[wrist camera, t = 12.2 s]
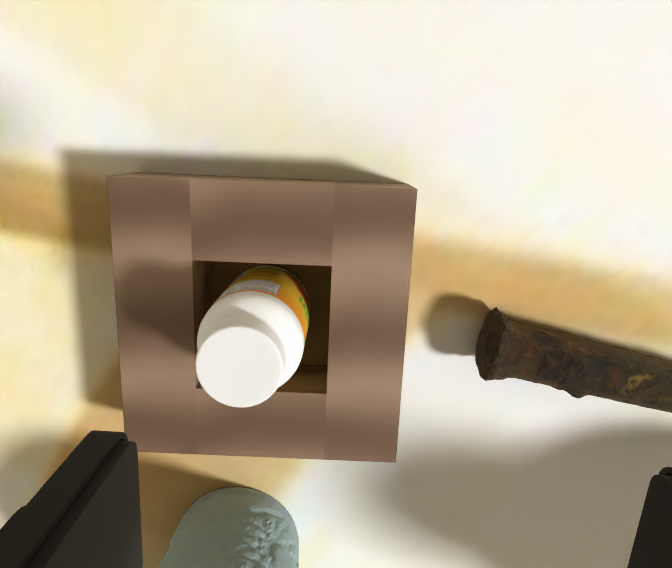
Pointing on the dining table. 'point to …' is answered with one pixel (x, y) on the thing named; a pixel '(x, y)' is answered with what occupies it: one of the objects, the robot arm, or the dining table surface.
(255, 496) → the blue grey cup
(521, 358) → the hand tool
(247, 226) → the collar block
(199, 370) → the supplement bottle
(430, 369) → the dining table surface
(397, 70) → the dining table surface
